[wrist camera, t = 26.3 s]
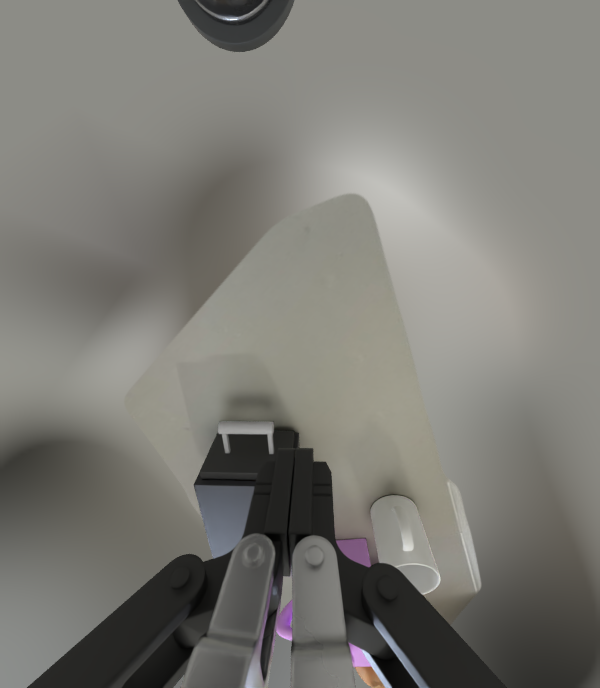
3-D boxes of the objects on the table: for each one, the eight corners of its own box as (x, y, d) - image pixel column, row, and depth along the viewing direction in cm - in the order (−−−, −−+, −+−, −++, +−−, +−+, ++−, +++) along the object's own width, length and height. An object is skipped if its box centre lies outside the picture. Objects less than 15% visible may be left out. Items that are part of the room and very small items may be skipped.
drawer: (213, 402, 41) (191, 441, 34) (292, 402, 40) (287, 442, 33) (231, 496, 49) (216, 544, 42) (297, 498, 48) (294, 547, 41)
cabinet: (218, 431, 44) (193, 484, 36) (298, 432, 43) (294, 487, 35) (231, 500, 51) (213, 560, 42) (302, 502, 50) (298, 563, 41)
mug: (416, 523, 50) (440, 595, 41) (371, 526, 51) (384, 597, 42) (415, 473, 46) (442, 542, 36) (366, 477, 46) (378, 545, 37)
